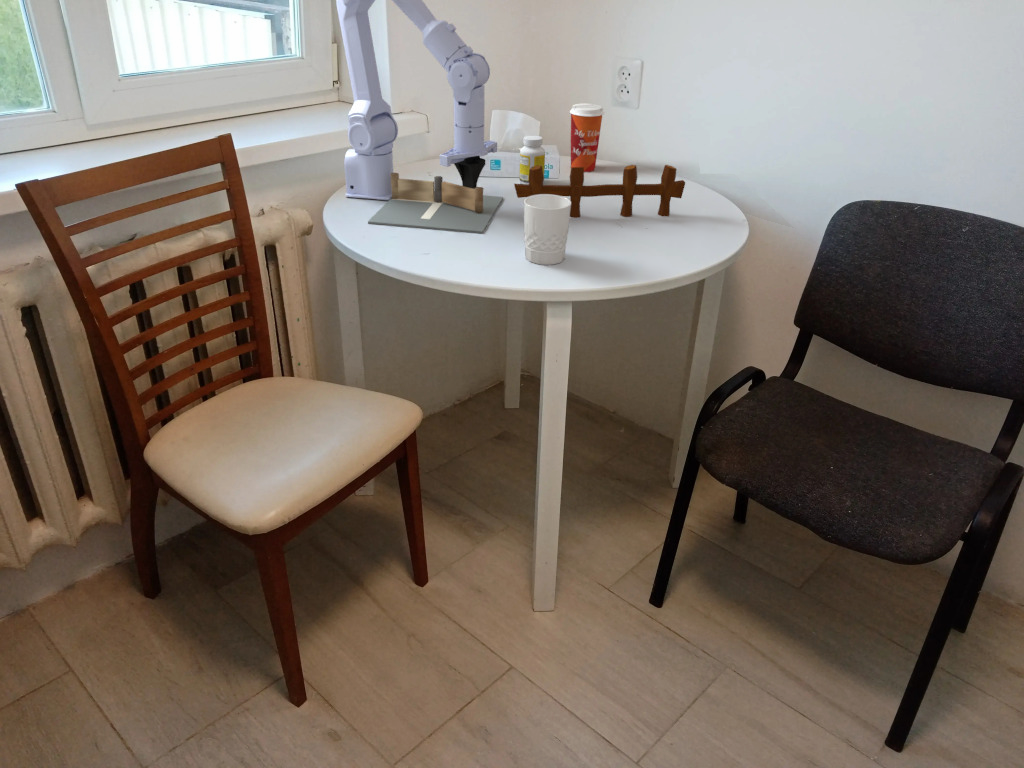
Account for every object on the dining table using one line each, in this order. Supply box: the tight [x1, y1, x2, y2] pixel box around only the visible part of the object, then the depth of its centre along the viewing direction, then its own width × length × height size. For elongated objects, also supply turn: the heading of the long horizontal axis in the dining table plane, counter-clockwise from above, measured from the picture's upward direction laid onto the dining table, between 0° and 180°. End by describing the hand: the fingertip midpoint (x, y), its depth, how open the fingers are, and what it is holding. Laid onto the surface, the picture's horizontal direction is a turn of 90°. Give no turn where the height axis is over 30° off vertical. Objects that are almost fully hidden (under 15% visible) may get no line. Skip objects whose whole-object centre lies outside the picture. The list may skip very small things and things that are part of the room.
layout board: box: [367, 190, 504, 235], centre depth 156 cm, size 22×21×1 cm
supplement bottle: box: [519, 135, 546, 185], centre depth 171 cm, size 5×5×10 cm
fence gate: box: [441, 181, 484, 213], centre depth 156 cm, size 10×2×5 cm, turn 55°
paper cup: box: [569, 102, 605, 173], centre depth 181 cm, size 8×8×14 cm
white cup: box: [523, 194, 571, 266], centre depth 134 cm, size 8×8×10 cm
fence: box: [513, 164, 686, 219], centre depth 154 cm, size 34×3×10 cm, turn 97°
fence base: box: [391, 172, 444, 203], centre depth 159 cm, size 11×2×5 cm, turn 80°
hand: (469, 195), depth 156 cm, fingers closed, pressing on fence gate
